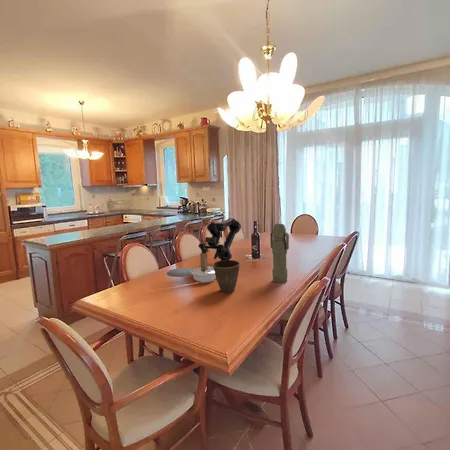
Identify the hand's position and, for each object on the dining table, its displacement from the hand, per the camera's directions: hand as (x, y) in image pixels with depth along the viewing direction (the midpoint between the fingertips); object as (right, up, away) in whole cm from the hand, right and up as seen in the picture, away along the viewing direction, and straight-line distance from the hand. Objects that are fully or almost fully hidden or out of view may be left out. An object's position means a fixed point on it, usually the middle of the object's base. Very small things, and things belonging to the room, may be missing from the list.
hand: (208, 258), depth 187 cm
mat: (-19, -12, +10) cm, 24 cm away
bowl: (-2, -13, -3) cm, 13 cm away
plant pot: (+12, -16, -24) cm, 31 cm away
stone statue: (+45, -12, -12) cm, 48 cm away
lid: (-2, -8, -4) cm, 9 cm away
